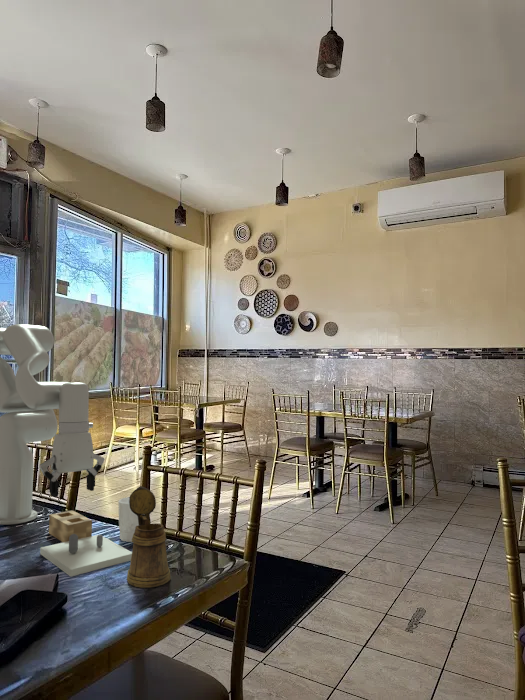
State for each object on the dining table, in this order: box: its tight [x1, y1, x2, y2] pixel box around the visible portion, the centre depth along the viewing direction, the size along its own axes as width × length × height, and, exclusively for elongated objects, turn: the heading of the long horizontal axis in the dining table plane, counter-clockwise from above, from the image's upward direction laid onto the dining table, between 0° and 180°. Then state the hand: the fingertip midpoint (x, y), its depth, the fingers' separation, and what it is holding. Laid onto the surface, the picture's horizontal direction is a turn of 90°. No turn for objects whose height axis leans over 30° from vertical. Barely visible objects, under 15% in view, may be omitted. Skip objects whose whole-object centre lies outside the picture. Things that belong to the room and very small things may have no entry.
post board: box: [39, 534, 132, 578], centre depth 120 cm, size 18×15×6 cm
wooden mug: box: [126, 485, 172, 589], centre depth 110 cm, size 9×14×18 cm, turn 27°
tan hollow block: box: [48, 510, 93, 543], centre depth 134 cm, size 12×6×5 cm, turn 43°
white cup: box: [117, 496, 145, 543], centre depth 134 cm, size 8×8×10 cm
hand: (72, 493), depth 134 cm, fingers open, 9 cm apart
